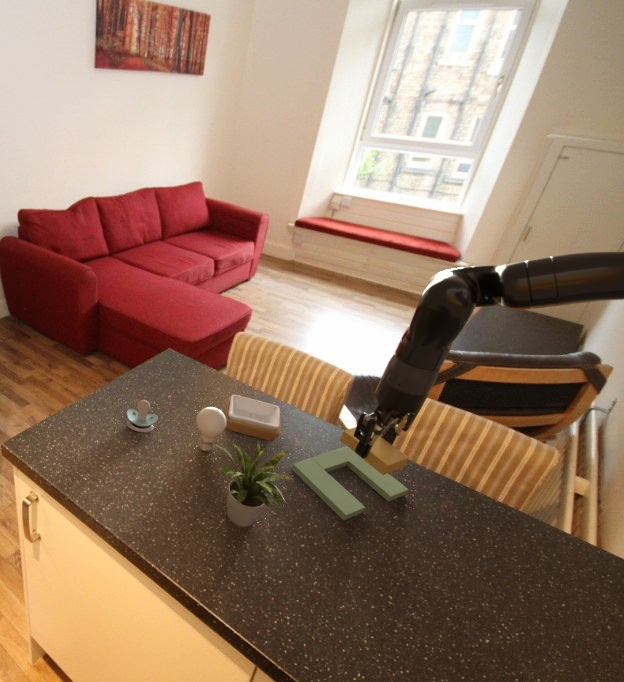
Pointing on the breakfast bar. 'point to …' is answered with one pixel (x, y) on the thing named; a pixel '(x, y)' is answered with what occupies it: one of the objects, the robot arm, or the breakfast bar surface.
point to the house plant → (251, 486)
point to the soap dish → (252, 417)
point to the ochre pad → (378, 453)
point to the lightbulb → (210, 426)
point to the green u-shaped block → (333, 492)
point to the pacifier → (141, 417)
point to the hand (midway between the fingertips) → (372, 450)
